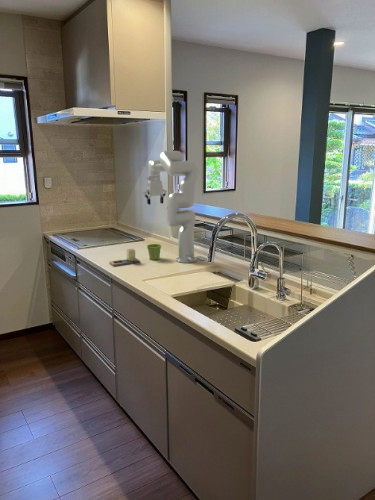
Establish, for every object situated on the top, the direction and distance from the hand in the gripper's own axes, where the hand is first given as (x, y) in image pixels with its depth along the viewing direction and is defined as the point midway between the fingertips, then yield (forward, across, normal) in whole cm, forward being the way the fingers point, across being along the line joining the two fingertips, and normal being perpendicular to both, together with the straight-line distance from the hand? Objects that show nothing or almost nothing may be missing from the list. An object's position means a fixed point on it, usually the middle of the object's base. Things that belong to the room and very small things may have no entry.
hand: (155, 203), depth 279 cm
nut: (+30, -31, -28) cm, 52 cm away
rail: (+30, -36, -28) cm, 55 cm away
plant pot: (+31, -16, -29) cm, 45 cm away
